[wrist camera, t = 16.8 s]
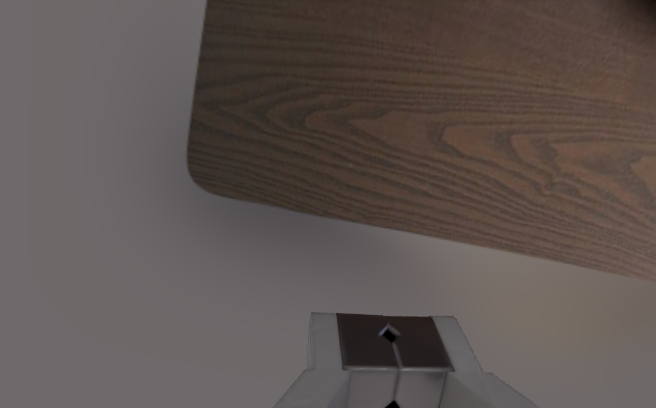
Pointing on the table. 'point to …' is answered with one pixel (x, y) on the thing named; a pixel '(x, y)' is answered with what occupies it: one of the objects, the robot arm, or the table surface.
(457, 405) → the robot arm
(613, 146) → the table surface
